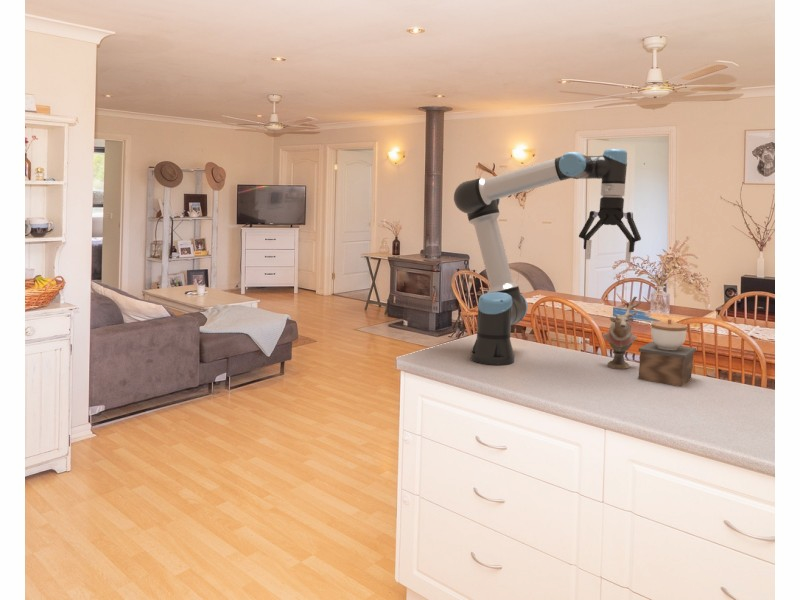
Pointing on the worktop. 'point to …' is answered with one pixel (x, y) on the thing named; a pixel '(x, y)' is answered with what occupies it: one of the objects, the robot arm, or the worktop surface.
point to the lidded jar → (668, 334)
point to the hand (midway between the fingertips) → (607, 260)
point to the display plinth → (665, 364)
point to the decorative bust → (621, 336)
